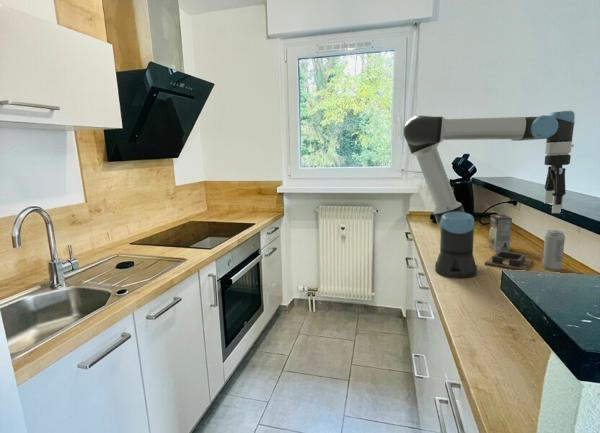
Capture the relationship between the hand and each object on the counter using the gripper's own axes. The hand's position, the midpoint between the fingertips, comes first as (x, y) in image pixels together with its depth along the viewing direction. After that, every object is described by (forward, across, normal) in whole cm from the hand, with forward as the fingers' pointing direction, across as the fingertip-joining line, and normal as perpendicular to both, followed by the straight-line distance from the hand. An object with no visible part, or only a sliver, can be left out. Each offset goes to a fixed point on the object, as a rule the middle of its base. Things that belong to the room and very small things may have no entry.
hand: (552, 209), depth 122 cm
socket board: (+23, -2, +13) cm, 27 cm away
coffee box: (+23, +19, +15) cm, 34 cm away
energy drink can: (+23, -3, -1) cm, 23 cm away
